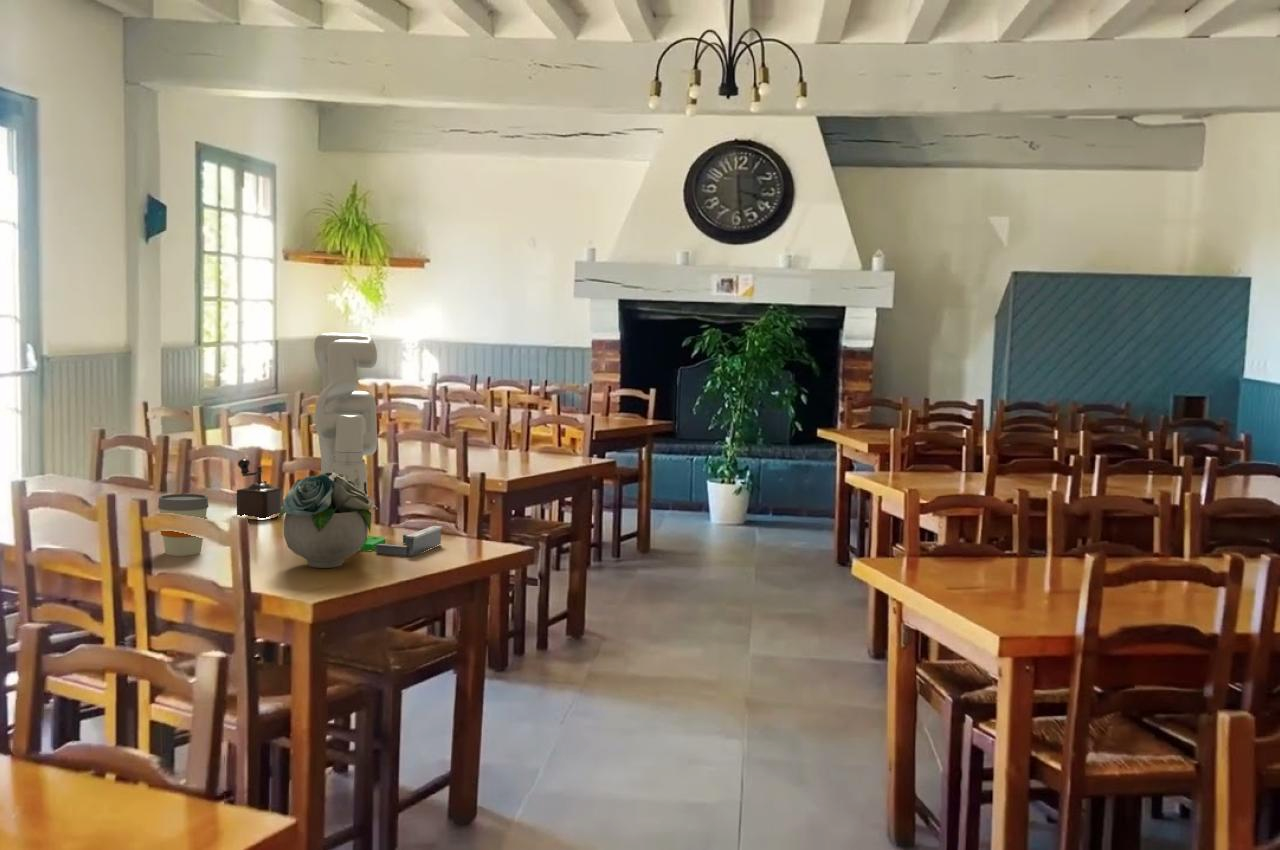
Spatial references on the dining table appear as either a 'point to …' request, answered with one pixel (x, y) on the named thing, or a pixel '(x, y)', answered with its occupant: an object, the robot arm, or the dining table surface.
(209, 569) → the dining table surface
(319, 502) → the flower arrangement
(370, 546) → the mechanical part
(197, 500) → the reusable coffee cup
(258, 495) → the manual coffee grinder
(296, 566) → the dining table surface
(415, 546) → the steel bracket
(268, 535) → the dining table surface
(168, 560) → the dining table surface
